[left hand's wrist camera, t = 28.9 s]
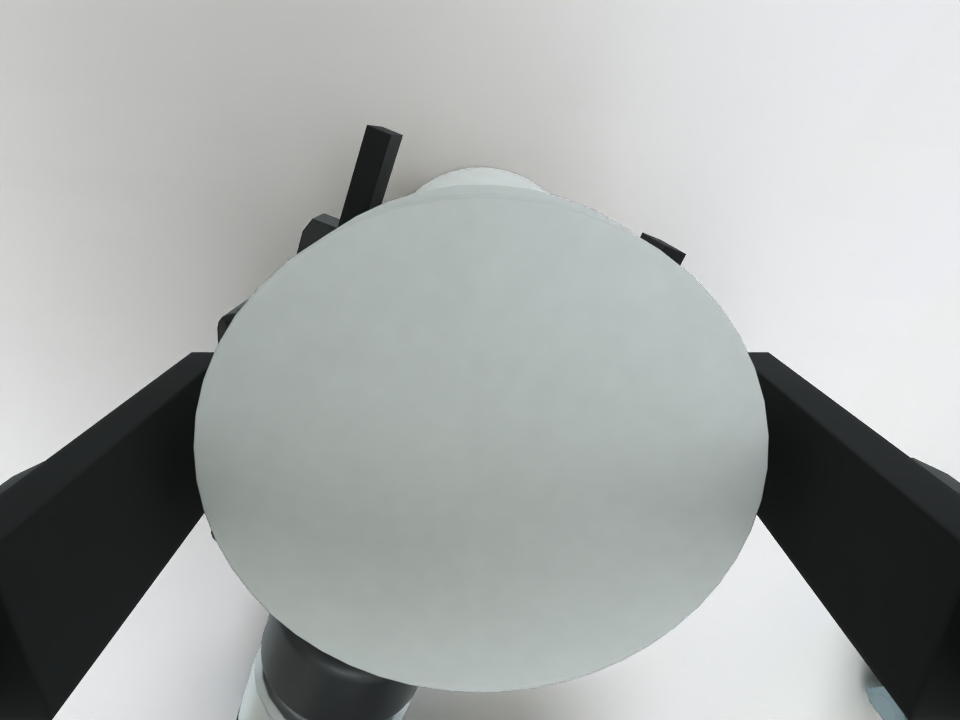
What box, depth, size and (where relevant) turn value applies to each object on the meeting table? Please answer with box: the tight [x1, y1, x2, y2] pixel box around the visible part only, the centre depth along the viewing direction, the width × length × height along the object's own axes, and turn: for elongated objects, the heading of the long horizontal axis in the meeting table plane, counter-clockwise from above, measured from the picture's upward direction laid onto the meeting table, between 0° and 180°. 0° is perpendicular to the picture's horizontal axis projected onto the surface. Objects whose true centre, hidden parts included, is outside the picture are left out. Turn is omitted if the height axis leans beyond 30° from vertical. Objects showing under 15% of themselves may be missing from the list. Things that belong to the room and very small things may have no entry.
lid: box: [194, 184, 769, 692], centre depth 11 cm, size 10×10×2 cm
